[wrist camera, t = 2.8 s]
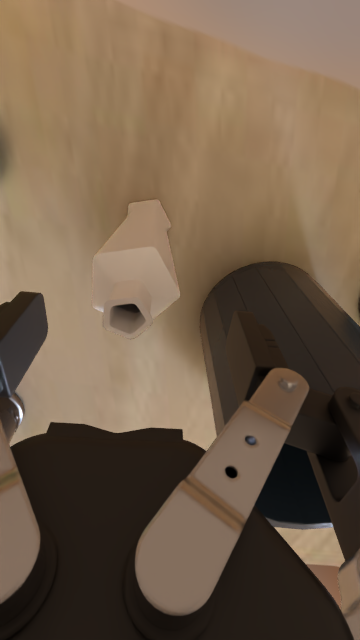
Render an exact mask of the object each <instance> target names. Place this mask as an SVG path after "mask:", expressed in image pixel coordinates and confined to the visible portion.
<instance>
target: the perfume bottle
mask: <svg viewBox="0 0 360 640" xmlns="http://www.w3.org/2000/svg"><path fill="white" fill-rule="evenodd" d="M170 228H171V223H170V221H169V219H168V217H167V215H166V213H165V211H164V209H163V207H162V205H161V203H160V201H159V200H158V199H153V200H146V201H140V202H133V203H130V204H129V205H128V214H127V217H126V219H125V220H124V221H123V222H122V223H121V225H120V226H119V227H118V228H117V229H116V231H115V232H114V233H113V234H112V235H111V237H110V238H109V239H108V240H107V241H106V243H105V244H104V245H103V246H102V247H101V249H100V250H99V251H98V252H97V253H96V254H95V256H94V257H93V273H92V306H93V308H95V309H96V310H99V311H101V312H104V314H103V327H104V328H105V329H106V330H108V331H110V332H112V333H115V334H117V335H120V336H123V337H125V338H128V339H135V338H136V337H138V336H139V335H140V334H141V333H142V332H144V331H145V330H146V329H147V328H148V327H150V326H151V325H152V323H153V320H154V319H155V318H156V317H157V316H158V315H160V314H161V313H162V312H163V311H164V310H165V309H167V308H168V307H169V306H170V305H171V304H173V303H174V302H175V301H176V300H177V299H178V298H179V297H180V290H179V286H178V281H177V276H176V272H175V267H174V262H173V258H172V253H171V249H170V244H169V239H168V235H167V231H168V230H169V229H170Z"/></svg>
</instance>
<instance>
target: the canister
mask: <svg viewBox="0 0 360 640" xmlns="http://www.w3.org/2000/svg"><path fill="white" fill-rule="evenodd" d="M234 311H245V312H253V314H254V316H255V318H256V321H257V323H258V324H263V325H265V326H266V327H267V328H268V329H269V330H270V331H271V332H272V334H273V336H274V338H275V341H276V342H277V344H278V346H279V347H278V348H280V350H281V352H282V354H283V357H284V359H285V361H286V363H287V365H288V367H289V369H290V370H293V371H295V372H297V373H298V374H300V375H301V376H302V377H303V378H304V379H305V380H306V381H307V383H308V385H309V388H311V389H313V390H316V391H320V392H323V393H326V394H329V395H333V394H334V392H335V391H336V390H337V389H338V388H340V387H351V388H354V389H357V390H360V327H359V325H358V324H357V323H356V322H355V321H354V320H353V319H352V318H351V317H350V316H349V315H348V314H347V313H346V312H345V311H344V310H343V309H342V308H341V307H340V306H339V305H338V303H337V302H336V301H335V300H334V299H333V298H332V297H331V296H330V295H329V294H328V293H327V292H326V291H325V290H324V289H323V288H322V287H321V286H320V285H319V284H318V283H317V282H316V281H315V280H314V279H312V278H311V277H310V276H309V275H308V274H307V273H306V272H304V271H303V270H301V269H300V268H298V267H295V266H293V265H290V264H286V263H280V262H262V263H256V264H252V265H248V266H245V267H243V268H240V269H238V270H236V271H234V272H232V273H231V274H229V275H228V276H226V277H225V278H224V279H222V280H221V281H220V282H219V283H218V284H217V285H216V286H215V287H214V288H213V289H212V291H211V292H210V293H209V295H208V297H207V298H206V300H205V302H204V305H203V307H202V311H201V315H200V333H201V339H202V346H203V352H204V358H205V365H206V371H207V377H208V383H209V390H210V396H211V402H212V409H213V415H214V421H215V428H216V434H217V436H218V435H219V434H220V432H221V431H222V430H223V428H224V427H225V425H226V424H227V423H228V421H229V420H230V419H231V417H232V416H233V415H234V413H235V412H236V410H237V409H238V408H239V405H238V401H237V397H236V393H235V388H234V384H233V380H232V376H231V372H230V368H229V363H228V359H227V355H226V340H227V336H228V332H229V328H230V324H231V320H232V316H233V313H234ZM254 505H255V506H256V507H257V508H258V510H259V511H260V512H261V513H262V514H263V515H264V517H265V518H266V519H267V520H268V521H269V522H270V523H271V525H272V526H273V527H281V528H292V529H316V528H330V527H333V524H332V522H331V519H330V516H329V513H328V510H327V507H326V505H325V502H324V499H323V496H322V493H321V490H320V488H319V485H318V482H317V479H316V476H315V473H314V471H313V468H312V465H311V462H310V459H309V456H308V454H307V451H306V450H303V449H300V448H297V447H294V446H291V445H288V444H286V443H284V444H283V446H282V448H281V451H280V453H279V455H278V457H277V459H276V461H275V463H274V465H273V467H272V469H271V471H270V473H269V475H268V477H267V480H266V482H265V484H264V486H263V488H262V490H261V492H260V494H259V496H258V498H257V500H256V502H255V504H254Z"/></svg>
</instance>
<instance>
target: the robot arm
mask: <svg viewBox="0 0 360 640" xmlns="http://www.w3.org/2000/svg"><path fill="white" fill-rule="evenodd" d="M47 332H48V323H47V316H46V310H45V303H44V298H43V295H42V294H41V293H35V292H24V291H21V292H19V293H18V295H17V296H16V297H15V298H14V299H13V300H12V301H11V302H5V303H4V304H2V305H0V640H360V390H357V389H354V388H351V387H340V388H338V389H337V390H336V391H335V392H334V394H333V395H329V394H326V393H323V392H320V391H316V390H313V389H311V388H309V385H308V383H307V381H306V380H305V379H304V378H303V377H302V376H301V375H300V374H298V373H297V372H295V371H293V370H290V369H289V367H288V365H287V363H286V361H285V359H284V357H283V354H282V352H281V350H280V348H278V347H279V346H278V344H277V342H276V341H275V338H274V336H273V334H272V332H271V331H270V330H269V329H268V328H267V327H266V326H265V325H263V324H258V323H257V321H256V318H255V316H254V314H253V312H245V311H234V313H233V316H232V320H231V324H230V328H229V332H228V336H227V340H226V355H227V359H228V363H229V368H230V372H231V376H232V380H233V384H234V388H235V393H236V397H237V401H238V405H239V408H238V409H237V410H236V412H235V413H234V415H233V416H232V417H231V419H230V420H229V421H228V423H227V424H226V425H225V427H224V428H223V430H222V431H221V432H220V434H219V435H218V436H217V438H216V439H215V440H214V442H213V443H212V444H211V446H210V447H209V449H208V450H207V451H205V450H204V449H202V448H201V447H199V446H197V445H196V444H194V443H191V442H189V441H186V440H183V431H182V429H166V428H146V429H140V430H135V431H129V432H123V433H113V432H109V431H106V430H102V429H99V428H96V427H92V426H89V425H85V424H73V423H54V422H51V423H50V425H49V428H48V430H47V433H44V434H40V435H36V436H33V437H30V438H27V439H25V440H23V441H20V442H18V443H16V444H14V445H13V446H11V447H10V445H9V443H10V441H11V439H12V437H13V435H14V433H15V432H16V430H17V428H18V426H19V425H20V423H21V421H22V419H23V416H24V406H23V404H22V402H21V400H20V399H19V397H18V396H17V395H16V394H15V393H14V392H15V390H16V388H17V387H18V385H19V383H20V381H21V380H22V378H23V376H24V375H25V373H26V371H27V370H28V368H29V366H30V365H31V363H32V361H33V359H34V358H35V356H36V354H37V353H38V351H39V349H40V348H41V346H42V344H43V343H44V341H45V339H46V336H47ZM284 443H286V444H288V445H291V446H294V447H297V448H300V449H303V450H306V451H307V454H308V456H309V459H310V462H311V465H312V468H313V471H314V473H315V476H316V479H317V482H318V485H319V488H320V490H321V493H322V496H323V499H324V502H325V505H326V507H327V510H328V513H329V516H330V519H331V522H332V524H333V527H334V530H335V533H336V536H337V539H338V541H339V544H340V547H341V550H342V553H343V556H344V558H345V562H344V563H343V564H342V565H341V567H340V569H339V572H338V585H339V591H340V596H341V610H340V608H339V606H338V605H337V603H336V602H335V600H334V598H333V597H332V596H331V594H330V593H329V592H328V591H327V589H326V588H325V586H324V585H323V584H322V583H321V582H320V581H319V579H318V578H317V577H316V576H315V575H314V574H313V572H312V571H311V570H310V569H309V568H308V567H307V565H306V564H305V563H304V562H303V561H302V560H301V558H300V557H299V556H298V555H297V554H296V553H295V551H294V550H293V549H292V548H291V547H290V546H289V544H288V543H287V542H286V541H285V540H284V539H283V537H282V536H281V535H280V534H279V533H278V532H277V530H276V529H275V528H274V527H273V526H272V525H271V523H270V522H269V521H268V520H267V519H266V518H265V517H264V515H263V514H262V513H261V512H260V511H259V510H258V508H257V507H256V506H255V505H254V504H255V502H256V500H257V498H258V496H259V494H260V492H261V490H262V488H263V486H264V484H265V482H266V480H267V477H268V475H269V473H270V471H271V469H272V467H273V465H274V463H275V461H276V459H277V457H278V455H279V453H280V451H281V448H282V446H283V444H284Z"/></svg>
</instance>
